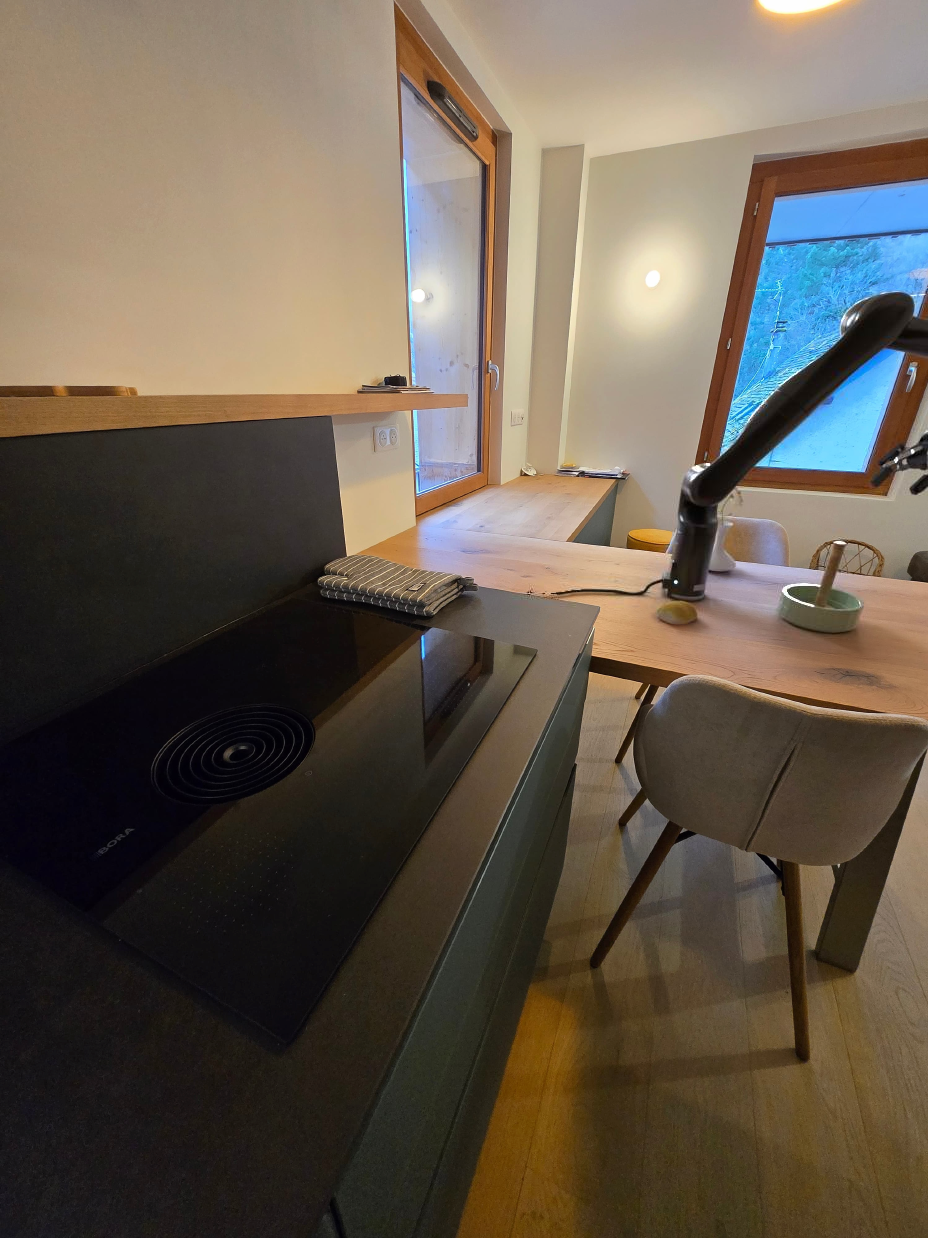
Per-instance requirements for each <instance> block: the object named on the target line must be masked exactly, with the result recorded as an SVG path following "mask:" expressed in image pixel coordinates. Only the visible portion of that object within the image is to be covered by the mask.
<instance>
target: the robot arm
mask: <svg viewBox="0 0 928 1238" xmlns="http://www.w3.org/2000/svg"><path fill="white" fill-rule="evenodd" d="M915 309H916V303H915V301H914V298H913V297H912V296H911V295H910V294H909V293H906V292H903V291H888V292H887V291H886V292H883V293H879V294H875V295H872V296H868V297H865V298H863V299H861V300H859V301H858V302H856V303H854V304H853V305H852V306H851V307H850V308H849V309H848V310H847V311H846V312H845V313H844V315H843V317H842V318H841V321H840V326H839V333H840V338H839V339H837V341H836V342H835V343H833V345H831V347H830V348H828V349H827V350H826V351H825V352H824V353H822V354H821V355H819V357H817V358H815V359H814V360H813V361H811V362H810V363H808V364H806V366H804V367H802V368H801V369H799V370H798V371H797V372H796V373H794V374H793V375H791V376H790V377H789V378H787V379H786V380H785V381H783V382H782V383H781V384H780V385H779V386H778V387H776V389H774V390H773V392H772V393H771V394H769V396H767V398H766V399H765V400H764V401H762V403H761V404H759V406H758V407H757V408H756V409H755V410H754V412H753V413H752V414H751V415H750V416H749V418H748V420H747V421H746V422H745V425H744V426H743V427H742V429H741V431H740V432H739V434H738V435H737V437H736V438H735V440H734V441H733V442H732V444H731V445H730V446H729V447H728V448H727V449H726V450H725V451H724V452H723V453H721V454H720V455H719V456H718V457H717V458H716V459H715V460H713V462H711V463H699V464H696V465H694V466H692V467H691V468H690V469H688V471H687V472H686V473H685V475H684V477H683V480H682V483H681V488H680V495H679V500H678V501H679V502H678V507H677V524H676V525H677V526H676V532H675V537H674V543H673V549H672V554H671V556H670V560H669V565H668V571H666V572H665V571H663V572H662V576H661V578H660V579H657V580H654V581H652V582H650V583H648V584H647V585H646V586H645V588H644V589H643V590H641V591H637V592H630V591H624V590H619V589H609V588H605V589H604V588H580V589H581V590H575V589H570V590H571V591H568V590H564V591H565V592H561V591H555V592H556V593H551V594H557V595H556V596H561V595H568V594H576V593H611V594H620V595H627V596H642V595H644V594H646V593H647V592H648V591H649V589H650V588H651V587H653V586H655V585H657V584H661V589H662V590H665V596H666V597H668V598H673V599H676V600H678V601H685V602H688V601H689V602H693V601H695V602H696V601H700V600H702V599H704V596H705V591H706V586H707V582H708V581H707V580H708V576H709V571H710V570H709V567H710V562H711V557H712V553H713V548H714V544H715V541H716V534H717V529H718V521H719V519H718V510H719V504H720V503H722V502H723V501H724V500H726V498H728V495H729V494H730V493H731V492H732V491H733V489H734V488H735V487H736V488H737V486H738V485H739V484H740V483H741V482H742V480H743V479H744V478H745V477H746V476H747V475H748V474H749V472H751V471H752V469H754V468H755V467H756V466H757V464H759V463H760V462H761V461H762V460H764V458H765V457H767V455H769V454H770V453H771V452H772V451H773V450H775V448H776V447H778V446H779V445H780V444H781V443H782V442H783V441H784V440H785V439H786V438H788V437H789V436H790V435H791V434H792V433H793V432H795V430H796V429H798V428H799V427H800V426H801V425H802V424H803V423H804V422H805V421H806V420H807V419H808V418H809V417H810V416H811V415H813V414H814V412H816V410H817V409H818V408H819V407H820V406H821V405H823V403H825V401H827V400H828V399H829V398H830V397H831V396H832V395H833V394H834V393H835V392H836V391H837V390H838V389H840V388H841V386H843V384H845V382H846V381H847V380H848V379H849V378H851V377H852V375H854V374H855V373H856V372H857V371H858V370H859V369H860V368H862V367H863V366H864V365H865V364H867V363H868V362H869V361H871V360H872V359H873V358H874V357H876V356H877V355H878V354H879V353H881V352H882V351H883V350H884V349H885V350H891V351H896V352H901V353H906V354H910V355H915V356H918V357H921V358H924V359H928V319H927V318H922V317H920V316H916V315H914V314H915ZM904 460H905V461H906V463H903V461H904ZM876 464H877V465H878V468H879V470H878V471H877V472H876V473H875V474H874V475H873V476H872V477H871V478H870V484H871V486H872V487H873V488H878V487H880V486H881V485H882V484H883V483H884V482H885V481H886V480H887V479H888V478H889V477H890V476H891V475H892V474H895V473H898V472H904V471H907V470H909V469H910V470H911V469H912V470H920V471H927V474H923V475H922V476H920V477H919V479H917V480H916V481H915V482H913V484H911V486H910V487H909V492H910V494H911V495H913V496H917V495H919V494H921V493H923V492H925V490H927V489H928V429H927V430H926V431H925V432H924V433H923V434H922V435H921V436H920V438H919V440H918V442H917V443H915V444H914V445H911V446H905V444H904V443H903V442H901V443H898V444H897V445H895V446H894V447H893V448H892V449H891V450H889V451H888V452H887V453H886V454H885V455H883V456H882V457H881V458H880V459H879V460H878V461H877V462H876ZM529 591H530V590H528V591H526V593H529ZM530 593H531V594H533V593H534V592H531V591H530ZM544 594H545V593H542V595H544Z"/></svg>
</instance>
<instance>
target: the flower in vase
mask: <svg viewBox="0 0 928 1238" xmlns="http://www.w3.org/2000/svg"><path fill="white" fill-rule="evenodd" d="M741 494H742V492H741V490H739V489H738V487H737V486H736V487H735V488H734V489H733V491H732V492H731V493H730V494H729V495H728V496H727V499H725V502H724V503H723V505H722V507H721V508H720V507H718V510H717V513H719V514H720V516H721V517H720V518H721V520H718V529H717V534H716V539H715V543H714V548H713V553H712V557H711V562H710V567H709V571H712V572H727V571H732V570H734V569H735V568H736V567H737V563H736V561H735V559H734V558H733V557H732V556H731V555H730V554H729V553H727V551H726V550H725V548H724V543H725V538H726V535H727V534H728V531H729V530H730V528H731V527H732V526H734V524H733V522H729V521H726V520H725V521H724V519H725V518H727V517H729V516H732V514H733V513H732V512H730V513H729V514H727V515H724V513H723V512H724V508H725V506H726V505H727V503H728V501H730V502H731V503H732V504H733V505H734V506H736V507H737V508H738V507H739V508H740V507H742V506H743V504H742V503H743V502H744V499H743V498H742V495H741ZM723 515H724V516H723Z"/></svg>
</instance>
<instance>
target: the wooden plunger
mask: <svg viewBox="0 0 928 1238" xmlns="http://www.w3.org/2000/svg"><path fill="white" fill-rule="evenodd" d="M846 545H847V543H846V542H844V541H837V540H836V541H833V543H832V546H831V547H832V548H831V550H830V553H829V555H828V556H829V557H828V560H827V563H826V565H825V566H826V567H825V568H824V572H823V575H822V578H821V581H820V584H819V585H820V587H819V591H818V594H817V597H816V600H815V602H807V604H810V605H814V606H818V607H823V608H831V609H834V608H833V607H831V606H829V605H826V603H827V600H828V597H829V594H830V591H831V588H833V585H834V582H835V579H836V575H837V573H838V569H839V567H840V564H841V561H842V558H843V554H844V552H845V548H846Z"/></svg>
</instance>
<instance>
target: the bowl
mask: <svg viewBox="0 0 928 1238" xmlns="http://www.w3.org/2000/svg"><path fill="white" fill-rule="evenodd" d="M819 587H820V584H811V583H794V584H789V585H788V584H787V586H785V587H783V588H782V591H781V594H780V598H779V602H778V605H777V607H776V612H777V614H778V615H779V616H780V617H782V618H783V619H784V620H785V621H786V622H788V623H790V624H792V625H793V626H795V627H798V628H801V629H806V630H808V631H814V632H819V633H830V634H837V633H845V632H849V631H853V630H854V629H856V628H857V626H858V624H859V621H860V619H861V616H862V614H863V613H862V612H863V611H864V607H865V601H864V600H862V599H861V598H860V597H859V596H856V595H855V594H853V593H851V592H848V591H845V590H843V589H839V588H835V587H832V588H831V591H830V594H829V597H828V600H827V603H826V605H829V606H831V607H833V608H834V609H831V608H823V607H818V606H814V605H810V604H807V602H815V600H816V597H817V594H818V591H819Z"/></svg>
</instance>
